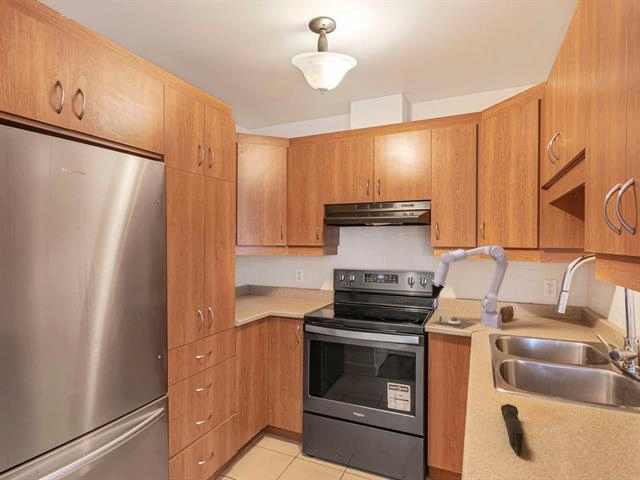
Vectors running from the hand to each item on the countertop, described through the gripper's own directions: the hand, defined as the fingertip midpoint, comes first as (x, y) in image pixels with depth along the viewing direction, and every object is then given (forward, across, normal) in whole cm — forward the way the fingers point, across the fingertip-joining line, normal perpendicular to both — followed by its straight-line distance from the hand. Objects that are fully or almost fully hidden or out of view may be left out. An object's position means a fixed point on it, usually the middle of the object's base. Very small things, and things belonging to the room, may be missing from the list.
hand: (434, 297), depth 204 cm
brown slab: (+4, -30, +39) cm, 49 cm away
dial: (+11, -2, +11) cm, 16 cm away
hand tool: (+11, +110, +38) cm, 117 cm away
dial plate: (+12, -2, +13) cm, 18 cm away
